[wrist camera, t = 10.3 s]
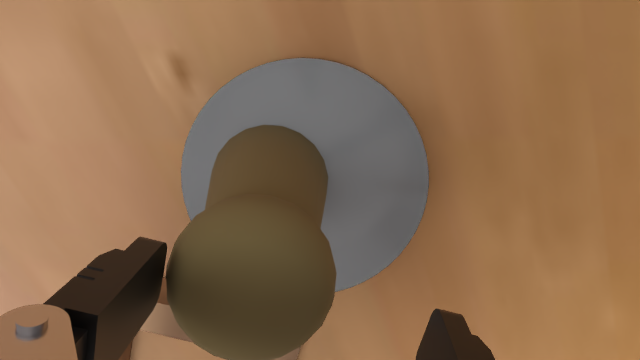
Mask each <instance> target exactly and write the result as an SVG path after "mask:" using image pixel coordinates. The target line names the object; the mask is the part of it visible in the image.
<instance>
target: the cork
mask: <svg viewBox="0 0 640 360" xmlns="http://www.w3.org/2000/svg"><path fill="white" fill-rule="evenodd" d="M327 185H328V174H327V170H326V166H325V162H324V159H323V157H322V156H321V154H320V153H319V151H318V150H317V148H316V146H315V145H314V144H313V143H312V142H310V141H309V140H308V139H307V138H306V137H304V136H303V135H302V134H301V133H299V132H296V131H294V130H291V129H289V128H286V127H284V126H275V125H260V126H256V127H252V128H248V129H245V130H243V131H241V132H240V133H238V134H237V135H235V136H234V137H232V138H230V139H229V140H228V141H227V143H226V144H225V145H224V146H223V148H222V149H221V150H220V151H219V153H218V154H217V157H216V160H215V163H214V166H213V169H212V173H211V178H210V184H209V189H208V195H207V201H206V206H205V210H204V211H202V212H201V213H199V214H197V215H196V216H195V217H194V218H193V219H192V221H191V222H190V223H189V224H188V226H187V227H186V228H185V229H184V230H183V232H182V233H181V234H180V235H179V237H178V239H177V240H176V242H175V244H174V247H173V249H172V252H171V255H170V258H169V261H168V264H167V271H166V288H167V301H168V303H169V305H170V308H171V310H172V313H173V315H174V317H175V320H176V322H177V323H178V325H179V326H180V328H181V329H182V330H183V331H184V332H185V333H186V335H187V336H188V337H189V338H190V339H191V340H192V341H193V343H194V344H196V345H197V346H199V347H201V348H202V349H204V350H206V351H207V352H209V353H210V354H212V355H214V356H217V357H221V358H224V359H228V360H271V359H276V358H280V357H282V356H284V355H286V354H288V353H289V352H291V351H293V350H295V349H297V348H299V347H300V346H301V345H303V344H304V343H305V342H306V341H307V340H308V339H309V338H310V337H311V336H312V335H313V334H314V333H315V332H316V331H317V330H318V329H319V328H320V327H321V326H322V324H323V322H324V320H325V318H326V316H327V314H328V312H329V310H330V308H331V306H332V302H333V299H334V293H335V284H336V275H337V272H336V268H335V263H334V259H333V255H332V251H331V247H330V243H329V241H328V239H327V238H326V236H325V235H324V233H323V232H322V231H321V223H322V218H323V212H324V206H325V201H326V195H327Z"/></svg>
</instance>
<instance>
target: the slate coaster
mask: <svg viewBox="0 0 640 360" xmlns="http://www.w3.org/2000/svg"><path fill="white" fill-rule="evenodd" d="M260 125H275V126H284V127H286V128H289V129H291V130H294V131H296V132H299V133H301V134H302V135H303V136H304V137H306V138H307V139H308V140H309V141H310V142H312V143H313V144H314V145H315V146H316V148H317V150H318V151H319V153H320V154H321V156H322V157H323V159H324V162H325V166H326V170H327V174H328V185H327V195H326V201H325V206H324V212H323V218H322V223H321V231H322V232H323V233H324V235H325V236H326V238H327V239H328V241H329V243H330V247H331V251H332V255H333V259H334V263H335V268H336V272H337V275H336V284H335V292H337V291H340V290H344V289H347V288H351V287H353V286H355V285H357V284H360V283H362V282H364V281H366V280H368V279H370V278H371V277H373V276H375V275H376V274H378V273H379V272H381V271H382V270H383V269H384V268H386V267H387V266H388V265H390V264H391V263H392V262H393V261H394V260H395V259H396V258H397V257H398V256H399V255H400V253H401V252H402V251H403V250H404V248H405V247H406V246H407V245H408V243H409V242H410V240H411V238H412V237H413V235H414V233H415V232H416V230H417V228H418V225H419V223H420V221H421V218H422V216H423V212H424V209H425V205H426V202H427V194H428V187H429V170H428V163H427V156H426V152H425V149H424V145H423V142H422V139H421V136H420V134H419V132H418V130H417V127H416V125H415V123H414V122H413V120H412V118H411V117H410V115H409V114H408V112H407V110H406V109H405V108H404V107H403V106H402V104H401V103H400V102H399V101H398V100H397V98H396V97H395V96H394V95H392V94H391V93H390V92H389V91H388V90H387V89H386V88H385V87H384V86H382V85H381V84H380V83H378V82H377V81H375V80H374V79H372V78H371V77H369V76H368V75H366V74H364V73H362V72H360V71H358V70H356V69H354V68H352V67H349V66H347V65H344V64H341V63H338V62H334V61H329V60H324V59H316V58H293V59H284V60H279V61H275V62H270V63H266V64H263V65H261V66H258V67H255V68H252V69H250V70H248V71H246V72H244V73H243V74H241V75H239V76H237V77H235V78H234V79H232V80H231V81H230V82H228V83H227V84H226V85H224V86H223V87H222V88H221V89H220V90H219V91H217V92H216V93H215V94H214V95H213V96H212V97H211V98H210V99H209V101H208V102H207V103H206V105H205V106H204V107H203V109H202V110H201V111H200V113H199V114H198V116H197V118H196V120H195V121H194V123H193V125H192V127H191V130H190V132H189V135H188V137H187V140H186V144H185V148H184V152H183V157H182V167H181V181H182V191H183V197H184V202H185V205H186V208H187V212H188V215H189V217H190V220H191V221H192V219H193V218H194V217H195V216H196V215H197V214H199V213H201V212H202V211H204V210H205V206H206V201H207V195H208V189H209V184H210V178H211V173H212V169H213V166H214V163H215V160H216V157H217V154H218V153H219V151H220V150H221V149H222V148H223V146H224V145H225V144H226V143H227V141H228V140H229V139H230V138H232V137H234V136H235V135H237V134H238V133H240V132H241V131H243V130H245V129H248V128H252V127H256V126H260Z"/></svg>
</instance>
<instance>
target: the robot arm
mask: <svg viewBox="0 0 640 360" xmlns="http://www.w3.org/2000/svg"><path fill="white" fill-rule="evenodd" d="M166 253H167V244H166V243H164V242H160V241H156V240H152V239H148V238H144V237H139V238H137V239H136V240H135V241H134V242H133V243H132V244H131V245H130V246H129V247H128V248H127V249H126V250H125V251H123V250H118V249H114V250H112V251H109V252H107V253H104V254H102V255H99V256H98V257H97V258H95V259H94V260H93V261H92V262H91V263H90V264H89V265H87V268H84V269H83V270H82V271H80V272H79V273H78V274H77V277H76V276H75V277H74V278H72V279H71V280H70V281H69V282H68V283H67V284H66V285H64V286H63V287H62V288H61V289H60V290H59V291H57V292H56V293H55V294H54V295H53V296H52V297H51V298H49V299H48V300H47V301H46V302H45V303H44V304H35V305H27V306H23V307H19V308H16V309H13V310H11V311H9V312H7V313H5V314H3V315H2V316H0V360H119V358H120V357H121V355H122V354H123V352H124V351H125V350H126V348H127V347H128V345H129V344H130V343H131V341H132V340H133V338H134V337H135V335H136V334H137V333H138V331H139V330H140V328H141V327H142V326H143V324H144V323H145V321H146V320H147V318H148V317H149V316H150V314H151V313H152V311H153V310H154V308H155V306H156V304H157V301H158V299H159V295H160V292H161V286H162V280H163V273H164V266H165V259H166ZM416 360H495V358H494V356H493V354H492V352H491V350H490V349H489V348H488V347H487V346H486V345H485V344H484V343H483V342H482V340H481V339H480V338H479V337H478V336H475V335H472V334H471V332H470V330H469V328H468V326H467V323H466V321H465V319H464V317H463V316H462V315H461V314H457V313H453V312H449V311H445V310H440V309H435V310H434V311H433V313H432V315H431V317H430V320H429V322H428V325H427V328H426V330H425V333H424V336H423V338H422V341H421V343H420V346H419V349H418V352H417V355H416Z"/></svg>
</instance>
